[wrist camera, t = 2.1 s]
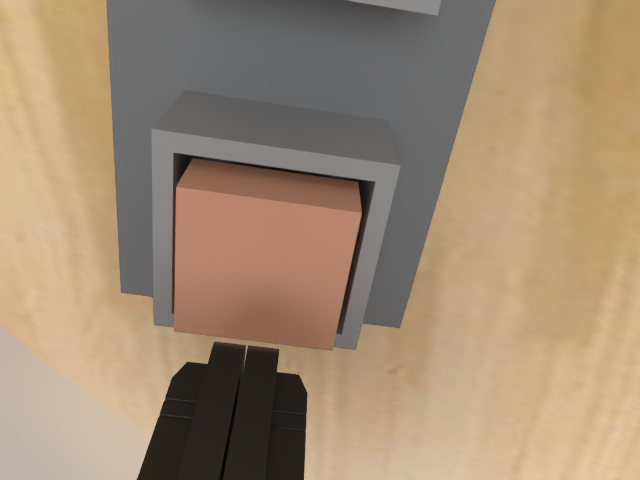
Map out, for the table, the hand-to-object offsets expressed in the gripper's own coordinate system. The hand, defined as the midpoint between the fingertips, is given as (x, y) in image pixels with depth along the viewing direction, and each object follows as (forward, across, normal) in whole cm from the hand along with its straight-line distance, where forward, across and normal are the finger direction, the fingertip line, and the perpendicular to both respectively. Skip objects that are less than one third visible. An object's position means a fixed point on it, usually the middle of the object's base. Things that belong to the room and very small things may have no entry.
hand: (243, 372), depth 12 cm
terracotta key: (+6, 0, 0) cm, 6 cm away
